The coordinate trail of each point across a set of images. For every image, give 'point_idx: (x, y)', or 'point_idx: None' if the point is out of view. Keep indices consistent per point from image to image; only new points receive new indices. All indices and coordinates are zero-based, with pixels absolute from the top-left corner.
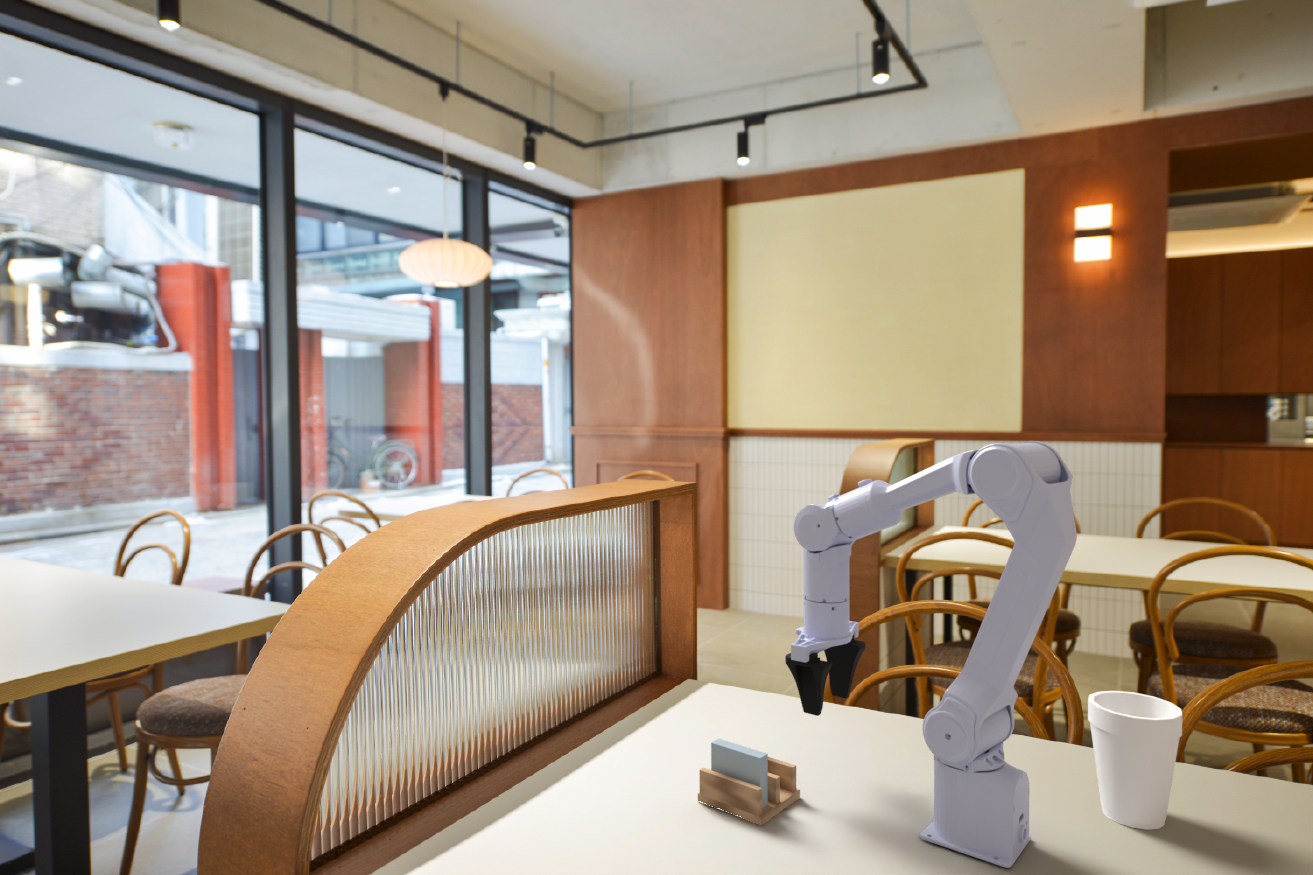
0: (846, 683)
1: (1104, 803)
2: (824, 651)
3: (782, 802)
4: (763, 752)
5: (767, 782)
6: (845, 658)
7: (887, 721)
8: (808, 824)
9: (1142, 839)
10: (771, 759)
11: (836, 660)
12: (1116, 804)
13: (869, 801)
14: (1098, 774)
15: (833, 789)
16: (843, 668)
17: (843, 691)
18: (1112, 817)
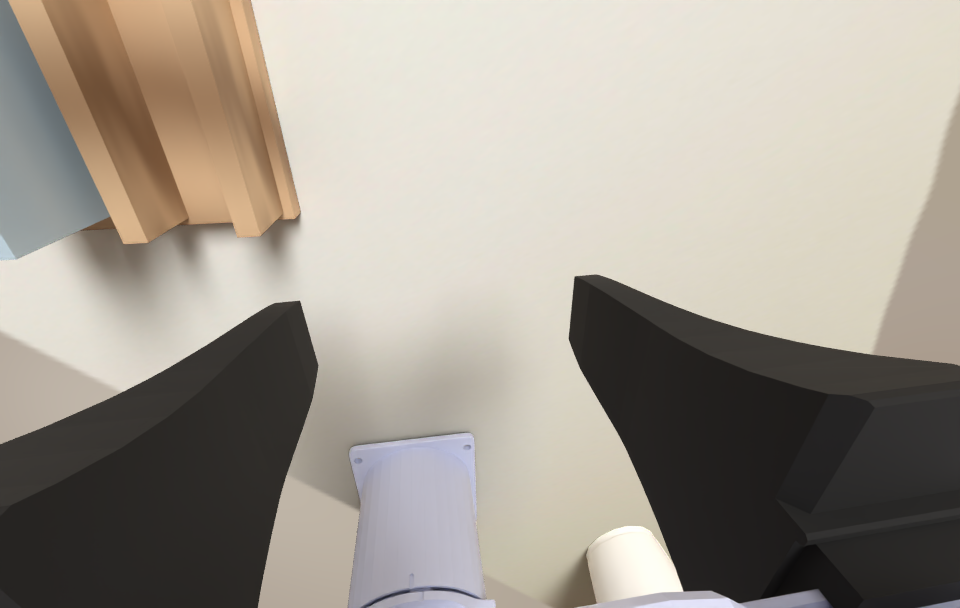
0: (599, 381)
1: (608, 550)
2: (740, 369)
3: (195, 223)
4: (4, 240)
5: (98, 221)
6: (676, 491)
7: (894, 140)
8: (213, 297)
9: (561, 566)
10: (219, 141)
11: (675, 418)
12: (596, 571)
13: (413, 330)
14: (630, 585)
15: (406, 248)
16: (641, 423)
17: (581, 343)
18: (595, 544)
